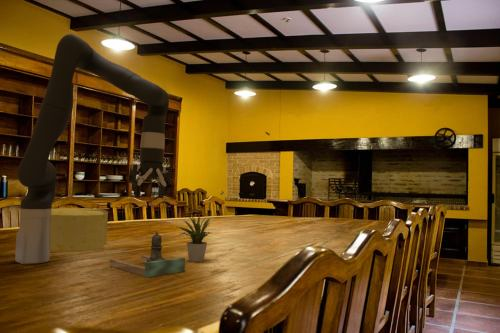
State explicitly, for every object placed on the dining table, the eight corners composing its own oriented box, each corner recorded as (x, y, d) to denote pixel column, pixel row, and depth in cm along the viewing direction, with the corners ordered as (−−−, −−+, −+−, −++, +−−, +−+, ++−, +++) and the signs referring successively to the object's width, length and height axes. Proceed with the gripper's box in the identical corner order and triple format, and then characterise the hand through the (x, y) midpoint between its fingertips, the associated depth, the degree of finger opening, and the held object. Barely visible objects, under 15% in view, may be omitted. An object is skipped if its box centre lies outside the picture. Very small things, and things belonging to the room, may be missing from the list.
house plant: (194, 255, 159) (195, 211, 159) (224, 259, 151) (226, 213, 152) (168, 260, 146) (170, 213, 147) (200, 265, 139) (202, 215, 140)
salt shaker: (162, 273, 125) (164, 232, 126) (143, 272, 125) (144, 232, 126) (167, 269, 131) (168, 230, 132) (148, 269, 131) (149, 230, 132)
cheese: (122, 246, 175) (123, 210, 175) (65, 254, 153) (67, 213, 153) (82, 240, 189) (83, 207, 189) (24, 247, 167) (26, 209, 167)
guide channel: (147, 277, 119) (148, 263, 120) (109, 265, 134) (110, 253, 134) (184, 271, 129) (185, 258, 129) (145, 261, 144) (145, 249, 144)
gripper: (139, 144, 128) (135, 198, 127) (177, 149, 138) (174, 198, 138) (126, 145, 133) (123, 196, 133) (164, 149, 143) (161, 197, 143)
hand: (149, 197), depth 135 cm, fingers open, 8 cm apart
